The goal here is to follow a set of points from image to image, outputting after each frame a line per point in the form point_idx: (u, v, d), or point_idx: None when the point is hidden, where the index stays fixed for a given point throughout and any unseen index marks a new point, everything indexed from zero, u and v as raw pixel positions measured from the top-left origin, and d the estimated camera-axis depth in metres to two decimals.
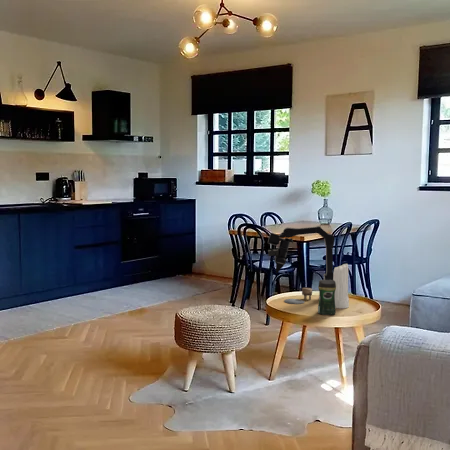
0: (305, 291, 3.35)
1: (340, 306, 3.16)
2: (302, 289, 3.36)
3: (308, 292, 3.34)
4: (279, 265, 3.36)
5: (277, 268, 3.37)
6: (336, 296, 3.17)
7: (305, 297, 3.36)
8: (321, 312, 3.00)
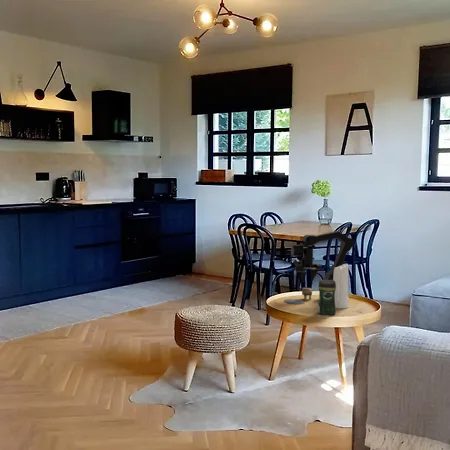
0: (305, 291, 3.35)
1: (340, 306, 3.16)
2: (302, 289, 3.36)
3: (308, 292, 3.34)
4: (302, 274, 3.32)
5: (301, 277, 3.33)
6: (336, 296, 3.17)
7: (305, 297, 3.36)
8: (321, 312, 3.00)
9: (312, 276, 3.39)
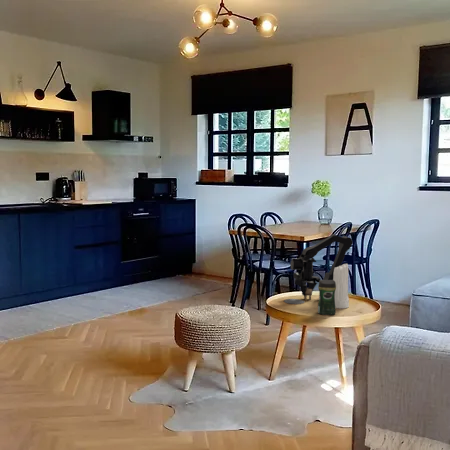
0: None
1: (340, 306, 3.16)
2: None
3: (308, 292, 3.34)
4: (303, 287, 3.34)
5: (302, 290, 3.34)
6: (336, 296, 3.17)
7: (305, 297, 3.36)
8: (321, 312, 3.00)
9: None
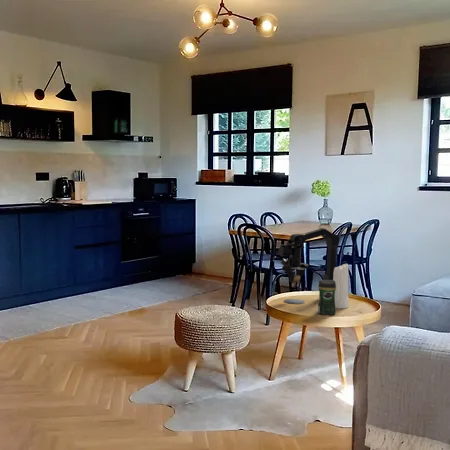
0: None
1: (340, 306, 3.16)
2: None
3: (296, 279, 3.26)
4: (291, 273, 3.26)
5: (290, 277, 3.27)
6: (336, 296, 3.17)
7: (293, 284, 3.28)
8: (321, 312, 3.00)
9: None
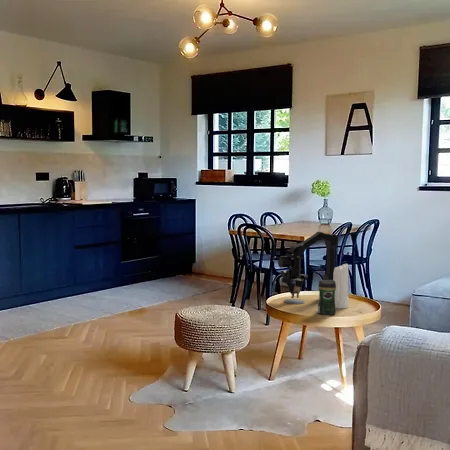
0: None
1: (340, 306, 3.16)
2: None
3: (296, 290, 3.27)
4: (290, 285, 3.26)
5: (289, 288, 3.27)
6: (336, 296, 3.17)
7: (293, 295, 3.28)
8: (321, 312, 3.00)
9: None
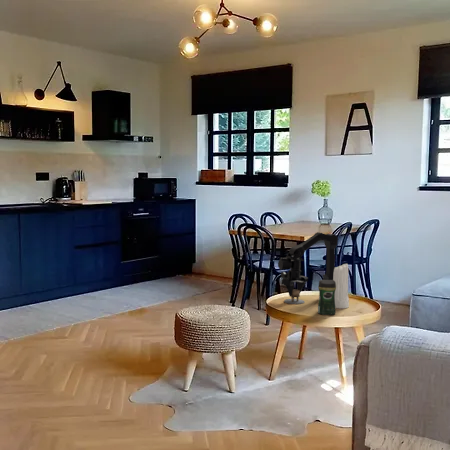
0: (292, 293, 3.27)
1: (340, 306, 3.16)
2: None
3: (295, 294, 3.27)
4: (289, 287, 3.26)
5: (288, 290, 3.27)
6: (336, 296, 3.17)
7: (292, 299, 3.29)
8: (321, 312, 3.00)
9: (299, 289, 3.33)
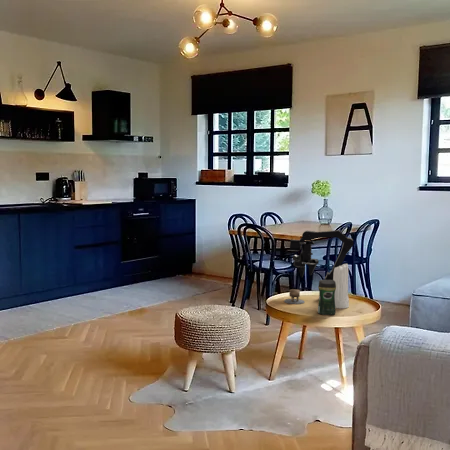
0: (292, 293, 3.27)
1: (340, 306, 3.16)
2: None
3: (295, 294, 3.27)
4: (301, 269, 3.38)
5: (300, 272, 3.39)
6: (336, 296, 3.17)
7: (292, 299, 3.29)
8: (321, 312, 3.00)
9: (310, 271, 3.46)
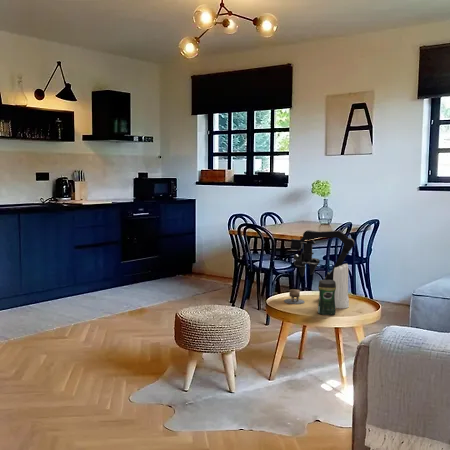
0: (292, 293, 3.27)
1: (340, 306, 3.16)
2: None
3: (295, 294, 3.27)
4: (301, 268, 3.39)
5: (300, 271, 3.40)
6: (336, 296, 3.17)
7: (292, 299, 3.29)
8: (321, 312, 3.00)
9: (311, 271, 3.47)
